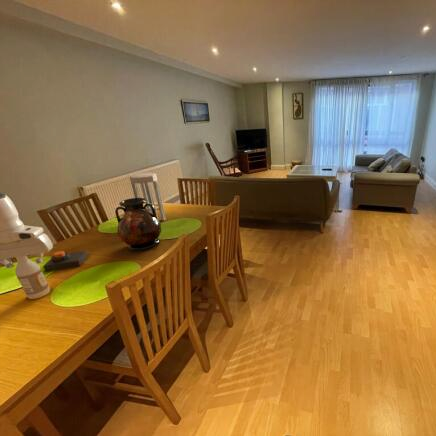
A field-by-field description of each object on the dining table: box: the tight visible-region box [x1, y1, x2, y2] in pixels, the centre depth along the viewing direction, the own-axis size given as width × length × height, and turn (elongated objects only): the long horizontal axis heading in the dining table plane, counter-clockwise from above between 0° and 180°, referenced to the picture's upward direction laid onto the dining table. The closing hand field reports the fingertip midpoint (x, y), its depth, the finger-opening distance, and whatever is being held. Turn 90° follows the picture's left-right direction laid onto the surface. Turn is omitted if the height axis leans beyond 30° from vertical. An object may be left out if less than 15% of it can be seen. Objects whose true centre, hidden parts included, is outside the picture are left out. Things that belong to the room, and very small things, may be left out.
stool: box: [129, 172, 167, 221], centre depth 169 cm, size 16×16×35 cm
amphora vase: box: [114, 197, 162, 252], centre depth 138 cm, size 22×22×28 cm
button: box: [53, 250, 65, 258], centre depth 122 cm, size 4×4×2 cm
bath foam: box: [15, 255, 51, 300], centre depth 99 cm, size 7×7×20 cm
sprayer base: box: [43, 250, 89, 272], centre depth 124 cm, size 14×11×5 cm
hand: (25, 264), depth 97 cm, fingers open, 8 cm apart
